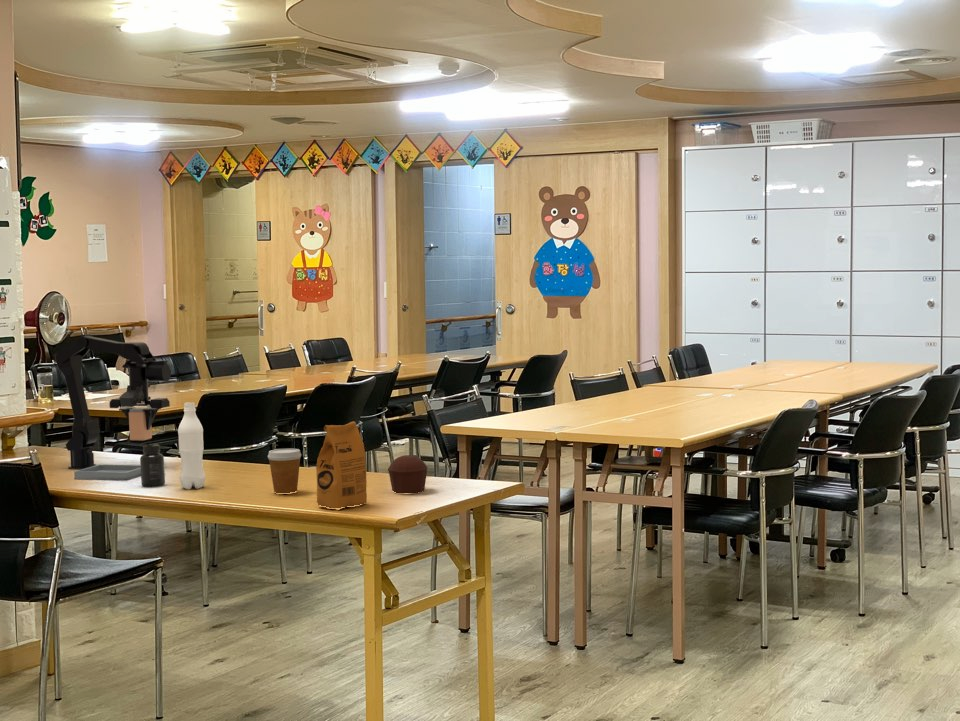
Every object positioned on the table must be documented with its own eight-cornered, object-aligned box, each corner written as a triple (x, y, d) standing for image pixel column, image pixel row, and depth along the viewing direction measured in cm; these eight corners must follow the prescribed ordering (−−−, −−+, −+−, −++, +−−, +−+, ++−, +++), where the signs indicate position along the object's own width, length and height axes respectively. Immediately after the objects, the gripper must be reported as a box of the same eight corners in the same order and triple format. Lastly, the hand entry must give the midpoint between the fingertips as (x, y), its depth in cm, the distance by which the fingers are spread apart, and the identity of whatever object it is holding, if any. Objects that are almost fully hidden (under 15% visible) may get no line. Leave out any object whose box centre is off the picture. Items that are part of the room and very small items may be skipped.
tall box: (130, 440, 380) (128, 409, 379) (138, 438, 385) (136, 407, 384) (143, 440, 379) (142, 409, 378) (152, 438, 383) (150, 407, 383)
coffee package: (311, 507, 311) (308, 424, 309) (347, 500, 320) (345, 419, 318) (335, 512, 304) (333, 427, 303) (372, 504, 313) (369, 422, 312)
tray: (74, 479, 365) (74, 471, 365) (99, 471, 378) (99, 464, 378) (126, 480, 360) (126, 472, 360) (150, 472, 374) (150, 465, 374)
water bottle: (210, 486, 347) (206, 401, 345) (196, 490, 340) (193, 404, 339) (189, 485, 349) (185, 401, 348) (175, 489, 343) (171, 403, 341)
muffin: (390, 488, 338) (389, 453, 337) (429, 487, 337) (428, 452, 337) (386, 495, 326) (385, 459, 325) (427, 495, 326) (426, 459, 325)
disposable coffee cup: (262, 492, 334) (261, 450, 333) (292, 488, 340) (291, 447, 339) (278, 497, 327) (277, 454, 326) (309, 493, 332) (307, 450, 332)
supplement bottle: (168, 483, 353) (167, 443, 352) (160, 487, 347) (158, 447, 346) (146, 483, 354) (144, 443, 353) (137, 487, 347) (135, 447, 346)
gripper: (98, 383, 375) (101, 432, 376) (151, 384, 370) (153, 433, 371) (117, 380, 386) (119, 428, 387) (169, 380, 381) (171, 428, 382)
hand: (140, 429), depth 381 cm, fingers closed on tall box, 5 cm apart
